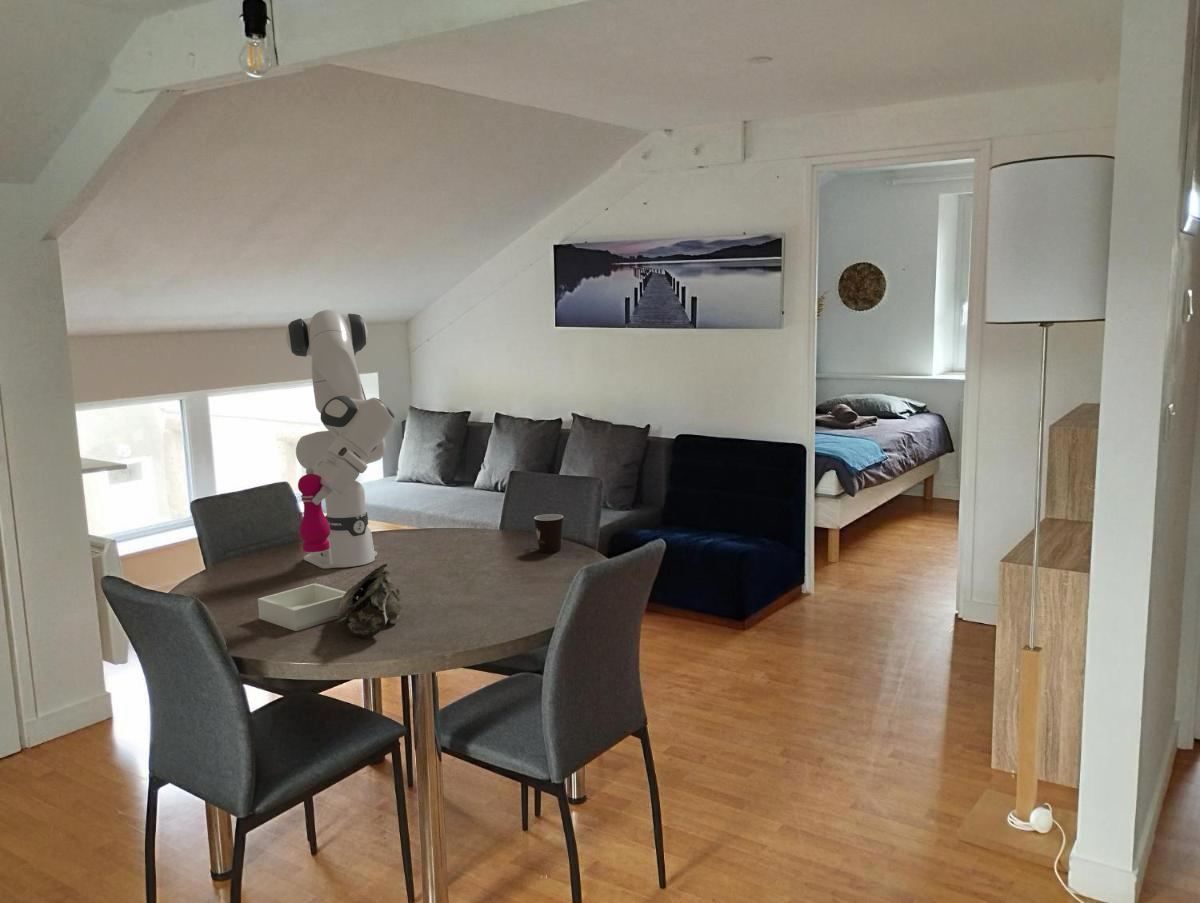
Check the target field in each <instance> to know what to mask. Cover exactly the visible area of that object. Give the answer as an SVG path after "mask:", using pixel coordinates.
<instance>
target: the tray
mask: <svg viewBox="0 0 1200 903" xmlns="http://www.w3.org/2000/svg"><path fill="white" fill-rule="evenodd" d="M346 592H347V591H344V590H342V589H337V588H335V587H330V586H326V585H324V584H321V583H320V584H319V583H316V582H315V583H311V584H307V585H303V586H299V587H296V588H292V589H288V590H284V591H281V592H278V593H277V592H276V593H274V594H270V595H266V596H263V597H259V598H257V606H258V616H259V617H258V618H259V620H262V621H264V622H268V623H271V624H273V625H277V626H280V627H283V628H285V629H289V630H291V631H294V632H299V631H301V630H305V629H308V628H312V627H315V626H318V625H321V624H324V623H327V622H332V621H334V620H338V619H341V618H340V617H337V616H335V614H336V613H337V612H338V609H339V606H340V605H339V603H340V602H341V600H342V597H343V596H344V595H345V593H346ZM347 616H348V613H347V614H346V615H345V617H347Z"/></svg>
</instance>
